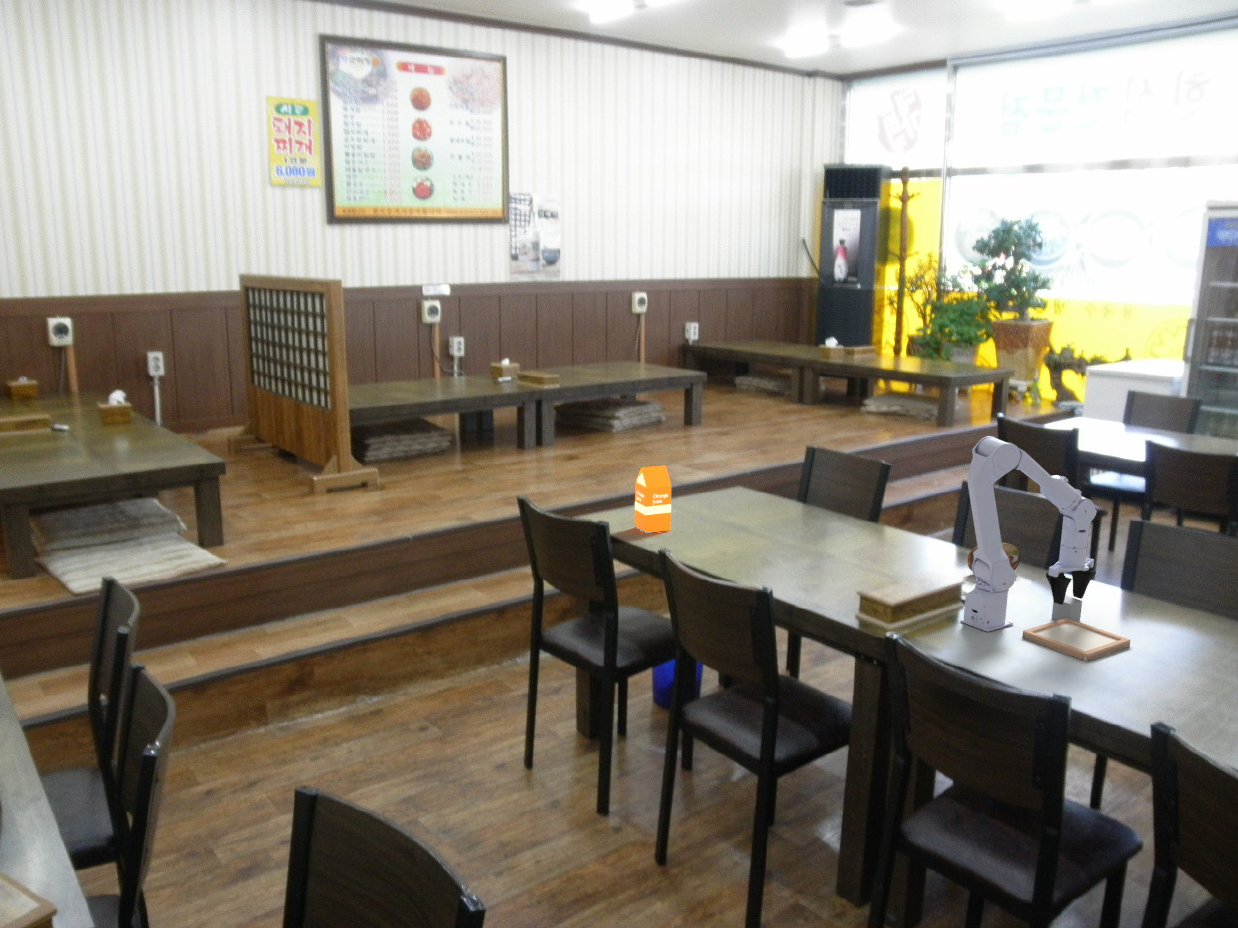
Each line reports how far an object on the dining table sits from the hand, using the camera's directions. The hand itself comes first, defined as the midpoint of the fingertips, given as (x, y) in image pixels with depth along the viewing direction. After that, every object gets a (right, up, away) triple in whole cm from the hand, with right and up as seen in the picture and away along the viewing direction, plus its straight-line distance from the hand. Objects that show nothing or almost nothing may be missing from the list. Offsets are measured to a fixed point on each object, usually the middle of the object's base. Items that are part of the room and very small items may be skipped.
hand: (1068, 600), depth 245 cm
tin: (-5, +2, +35) cm, 35 cm away
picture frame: (-4, -8, -13) cm, 16 cm away
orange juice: (-96, +12, +74) cm, 122 cm away
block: (0, -5, +1) cm, 5 cm away
